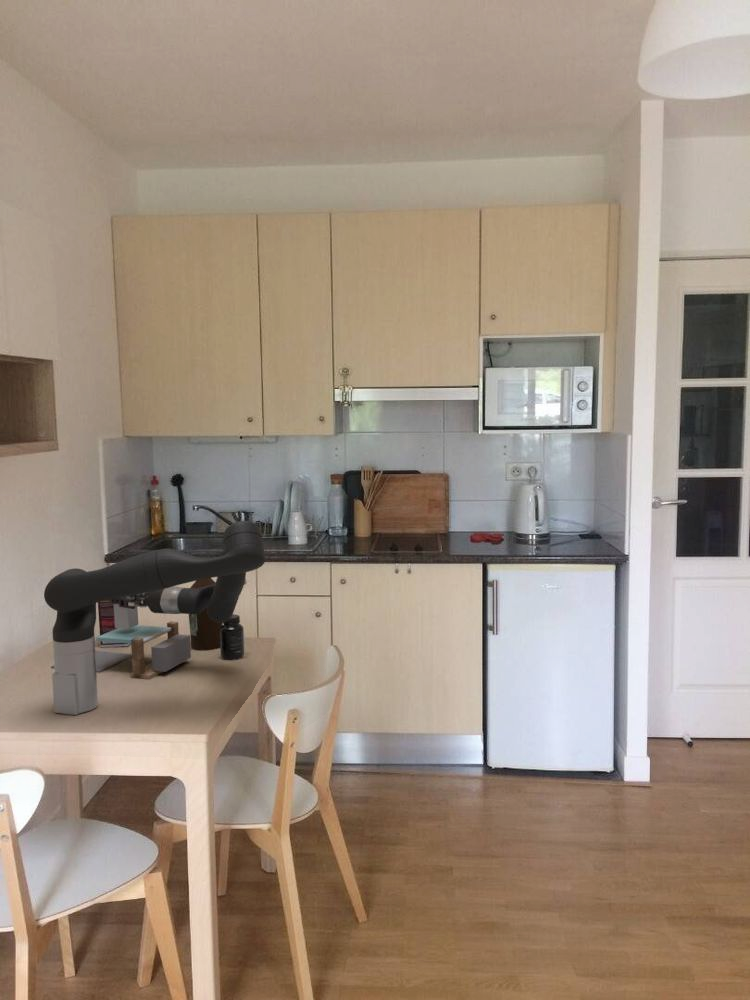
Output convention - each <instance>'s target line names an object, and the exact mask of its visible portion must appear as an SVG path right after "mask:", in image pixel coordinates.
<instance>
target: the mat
mask: <svg viewBox="0 0 750 1000" xmlns="http://www.w3.org/2000/svg"><path fill="white" fill-rule="evenodd" d="M95 655H96V673H101V672H103V671H106V670H107V668H108V669H109V667H110V668H112V667H114V666H116V665H118V664H120V663H122V662H124V661H126V660H128V659H130V658H132V657H131V656H132V653H124V652H123V653H122V652H114V651H101V650H95ZM129 657H130V658H129ZM127 658H128V659H127ZM125 659H126V660H125ZM123 660H124V661H123ZM121 661H122V662H121ZM119 662H120V663H119ZM117 663H118V664H117ZM115 664H116V665H115ZM113 665H114V666H113ZM111 666H112V667H111ZM50 669H55V666H54V665H52V666H51V667H50ZM105 669H106V670H105Z"/></svg>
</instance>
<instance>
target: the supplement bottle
mask: <svg viewBox="0 0 750 1000" xmlns="http://www.w3.org/2000/svg"><path fill="white" fill-rule="evenodd" d="M240 623H241V619H240V615H239V614H234V613H233V615H232V617H231V619H229V620H228V621H226V622H223V626H221V628H220V647H219V648H220V658H222V659H223V660H226V659H228V660H227V661H234V660H233V659H236V660H240V659H242V658H243V657H244V656H245V634H244V633H245V632H244V631H245V630H244V626H243V625H242V624H240ZM239 658H240V659H239Z"/></svg>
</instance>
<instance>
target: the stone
mask: <svg viewBox="0 0 750 1000" xmlns="http://www.w3.org/2000/svg"><path fill="white" fill-rule="evenodd" d="M133 599H134V596H133ZM114 619H115V628H126V629H129V628H132V627H134V626H136V625H139V610H138V607H135V609H130V608H123V607H119V604H114Z"/></svg>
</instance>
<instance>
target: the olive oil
mask: <svg viewBox="0 0 750 1000" xmlns="http://www.w3.org/2000/svg"><path fill="white" fill-rule="evenodd" d="M215 583H216V580H214V579H212V578H207V579H202V580H197V581H194V583H193V584H192V585H190V587H189V588H201V587H205V586H209V585H213V584H215ZM188 623H189V633H190V634H189V635H190V648H192V649H193V650H197V651H209V649H211V650H214V649H213V648H216V649H218V647H219V648H220V628H221V626H223V625H224V624H223V623H218V622H215V621H213V620H211V619H210V618H209V616H208V614H207V607H206V609H205V610H204V611H203V612H202V613H200V614H188Z"/></svg>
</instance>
